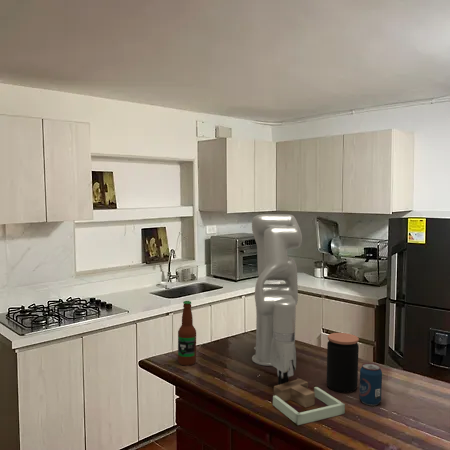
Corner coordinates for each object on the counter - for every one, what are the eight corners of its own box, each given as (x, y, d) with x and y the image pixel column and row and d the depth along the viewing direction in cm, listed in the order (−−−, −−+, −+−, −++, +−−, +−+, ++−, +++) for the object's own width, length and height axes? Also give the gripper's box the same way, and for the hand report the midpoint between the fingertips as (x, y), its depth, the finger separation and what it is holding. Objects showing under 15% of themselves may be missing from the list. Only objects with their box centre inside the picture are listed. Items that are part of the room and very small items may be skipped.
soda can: (354, 399, 152) (355, 363, 151) (370, 395, 154) (371, 361, 154) (369, 408, 145) (370, 371, 144) (385, 404, 148) (387, 368, 147)
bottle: (174, 363, 182) (174, 302, 180) (185, 358, 188) (185, 298, 186) (188, 367, 178) (188, 304, 176) (199, 361, 184) (200, 301, 182)
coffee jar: (351, 380, 167) (353, 332, 165) (361, 393, 156) (363, 342, 155) (323, 380, 166) (324, 332, 165) (330, 393, 156) (332, 342, 154)
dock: (272, 405, 147) (272, 395, 146) (316, 395, 154) (317, 386, 154) (297, 425, 134) (298, 415, 134) (344, 413, 141) (344, 404, 141)
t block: (273, 398, 152) (273, 386, 152) (299, 389, 159) (299, 378, 158) (296, 410, 143) (296, 398, 142) (323, 401, 150) (323, 389, 149)
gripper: (263, 331, 161) (262, 381, 162) (286, 344, 147) (285, 399, 149) (281, 328, 164) (280, 378, 165) (305, 341, 151) (304, 394, 152)
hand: (283, 387), depth 157 cm, fingers closed
